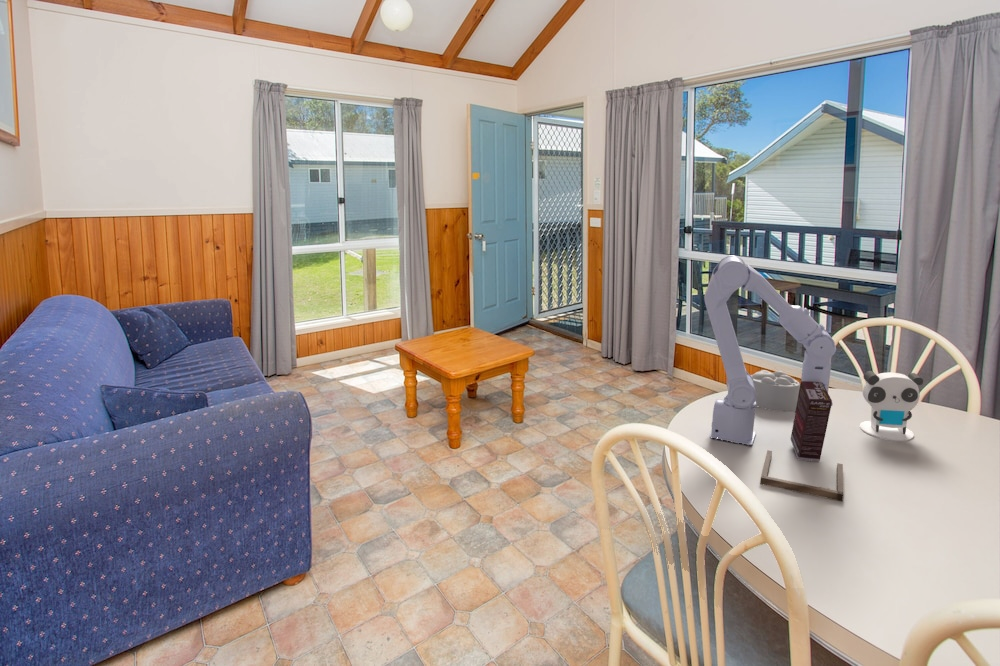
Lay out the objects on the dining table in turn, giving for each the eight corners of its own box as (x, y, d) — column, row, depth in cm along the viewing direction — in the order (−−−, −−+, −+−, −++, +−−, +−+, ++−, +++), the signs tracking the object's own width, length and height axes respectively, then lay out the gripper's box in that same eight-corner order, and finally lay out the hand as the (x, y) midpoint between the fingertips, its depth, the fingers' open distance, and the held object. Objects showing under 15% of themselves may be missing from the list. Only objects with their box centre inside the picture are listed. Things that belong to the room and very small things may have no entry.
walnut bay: (760, 483, 124) (760, 477, 124) (766, 456, 136) (767, 450, 136) (842, 501, 117) (843, 494, 117) (841, 470, 129) (842, 464, 129)
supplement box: (821, 462, 133) (833, 401, 126) (797, 460, 134) (808, 399, 127) (811, 440, 140) (823, 381, 134) (789, 438, 141) (799, 380, 135)
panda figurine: (865, 438, 144) (874, 380, 140) (850, 419, 155) (858, 365, 151) (921, 443, 141) (932, 383, 137) (902, 423, 152) (912, 367, 148)
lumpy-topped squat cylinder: (757, 393, 174) (760, 364, 172) (804, 405, 165) (807, 375, 163) (741, 402, 167) (743, 373, 165) (788, 415, 158) (792, 384, 156)
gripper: (835, 394, 129) (828, 452, 132) (834, 374, 141) (828, 427, 145) (798, 390, 132) (793, 446, 136) (801, 370, 145) (796, 422, 148)
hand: (809, 436), depth 140 cm, fingers closed, pressing on supplement box
